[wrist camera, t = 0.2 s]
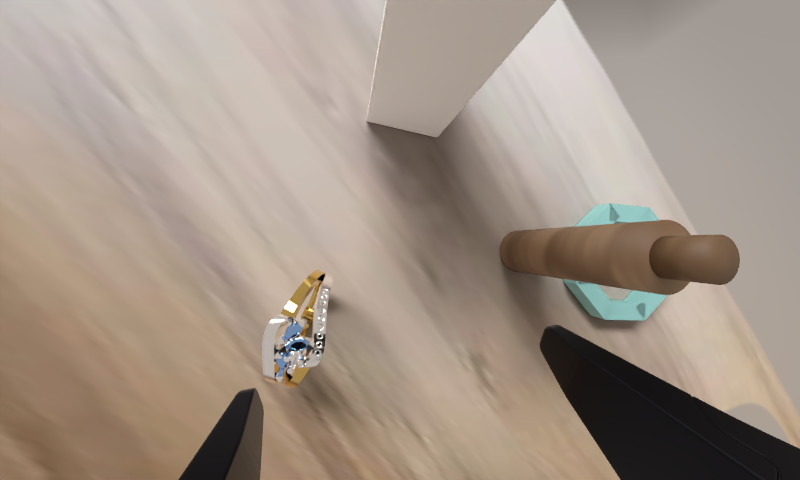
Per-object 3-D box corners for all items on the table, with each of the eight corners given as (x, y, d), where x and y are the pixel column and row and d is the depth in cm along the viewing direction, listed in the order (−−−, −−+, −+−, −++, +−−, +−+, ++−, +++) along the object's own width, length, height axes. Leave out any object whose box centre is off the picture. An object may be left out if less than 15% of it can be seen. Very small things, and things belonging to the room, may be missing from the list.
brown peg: (544, 252, 26) (767, 263, 12) (516, 279, 26) (717, 322, 12) (520, 222, 26) (722, 198, 12) (492, 249, 25) (669, 256, 11)
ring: (308, 362, 22) (288, 427, 14) (267, 345, 22) (224, 403, 14) (350, 279, 23) (353, 297, 15) (312, 260, 22) (295, 270, 15)
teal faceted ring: (674, 265, 29) (692, 266, 27) (608, 338, 27) (623, 344, 26) (616, 185, 27) (631, 182, 26) (543, 256, 26) (555, 257, 25)
